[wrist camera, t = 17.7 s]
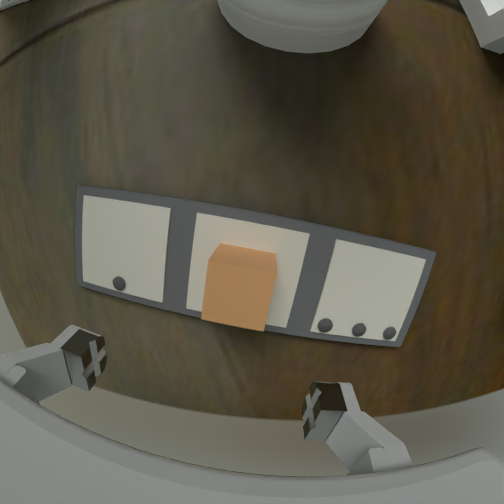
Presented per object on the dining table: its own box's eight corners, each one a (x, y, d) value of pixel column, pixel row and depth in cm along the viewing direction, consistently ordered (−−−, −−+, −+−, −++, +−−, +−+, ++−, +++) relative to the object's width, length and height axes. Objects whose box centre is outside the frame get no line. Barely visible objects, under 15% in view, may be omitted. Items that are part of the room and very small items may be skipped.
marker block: (212, 293, 21) (201, 319, 17) (220, 242, 20) (208, 259, 16) (264, 303, 21) (263, 331, 17) (275, 253, 20) (277, 273, 16)
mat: (81, 281, 23) (74, 286, 22) (82, 185, 20) (74, 186, 19) (397, 342, 23) (401, 349, 22) (431, 250, 20) (438, 254, 19)
